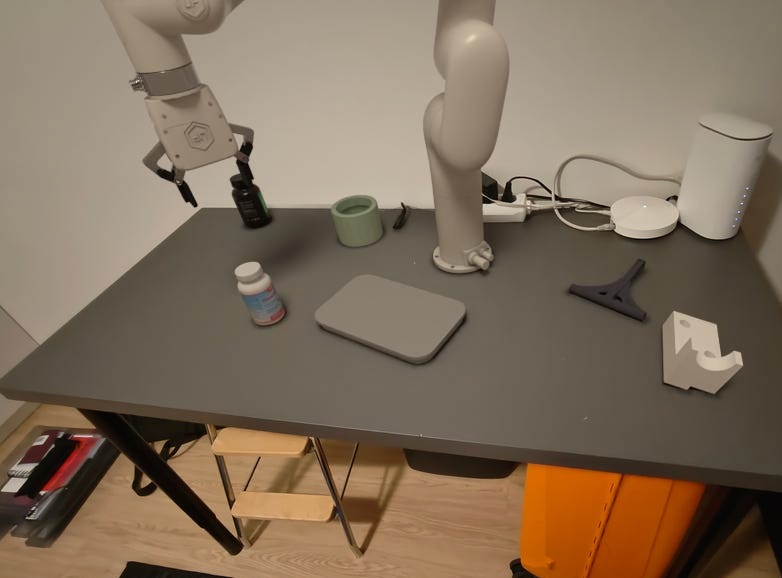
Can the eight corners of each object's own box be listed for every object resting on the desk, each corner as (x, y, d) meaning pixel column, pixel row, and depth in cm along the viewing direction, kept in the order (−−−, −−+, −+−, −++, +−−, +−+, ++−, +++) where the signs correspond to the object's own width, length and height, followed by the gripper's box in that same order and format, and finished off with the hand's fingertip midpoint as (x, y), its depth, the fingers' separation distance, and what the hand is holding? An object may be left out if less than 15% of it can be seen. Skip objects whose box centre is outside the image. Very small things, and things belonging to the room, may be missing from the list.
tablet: (425, 371, 76) (423, 362, 74) (311, 327, 87) (307, 317, 85) (472, 314, 85) (471, 304, 83) (364, 280, 96) (361, 271, 94)
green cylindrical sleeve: (391, 234, 108) (385, 204, 103) (352, 252, 104) (344, 222, 99) (368, 219, 115) (362, 190, 109) (331, 235, 111) (322, 206, 105)
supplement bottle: (277, 218, 119) (259, 173, 111) (257, 231, 115) (238, 185, 107) (259, 213, 122) (240, 169, 114) (239, 226, 118) (218, 180, 110)
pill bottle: (280, 326, 88) (258, 277, 80) (250, 327, 88) (224, 279, 80) (289, 306, 92) (268, 258, 84) (259, 307, 92) (236, 260, 84)
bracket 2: (710, 397, 68) (743, 365, 62) (663, 382, 69) (692, 349, 63) (703, 339, 77) (732, 306, 71) (662, 325, 77) (687, 292, 71)
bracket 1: (677, 281, 87) (681, 268, 85) (641, 322, 79) (644, 310, 77) (607, 257, 94) (609, 245, 92) (568, 293, 87) (569, 281, 85)
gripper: (111, 101, 60) (176, 220, 72) (237, 70, 67) (278, 184, 79) (102, 91, 65) (165, 205, 77) (221, 63, 71) (261, 172, 84)
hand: (222, 194), depth 78 cm, fingers open, 9 cm apart
